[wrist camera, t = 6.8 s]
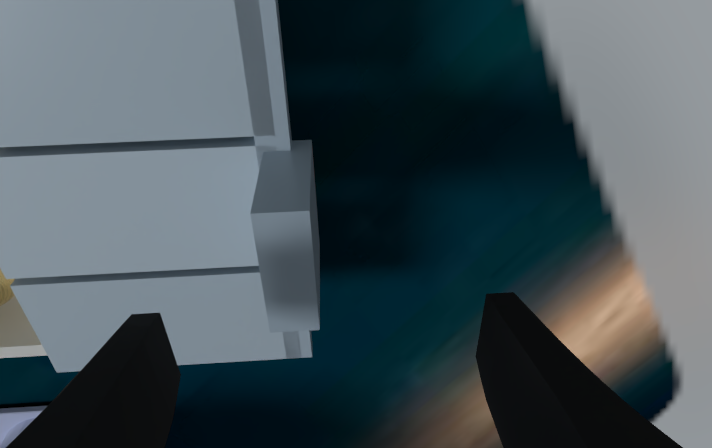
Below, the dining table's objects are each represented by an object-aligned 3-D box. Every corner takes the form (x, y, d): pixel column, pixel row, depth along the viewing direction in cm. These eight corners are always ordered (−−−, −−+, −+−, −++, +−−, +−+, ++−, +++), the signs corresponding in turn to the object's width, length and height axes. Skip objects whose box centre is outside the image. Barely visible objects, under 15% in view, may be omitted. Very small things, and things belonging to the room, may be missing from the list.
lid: (327, 342, 20) (328, 432, 17) (64, 358, 20) (13, 453, 16) (298, -43, 12) (290, -17, 9) (-137, -30, 12) (-310, 3, 9)
